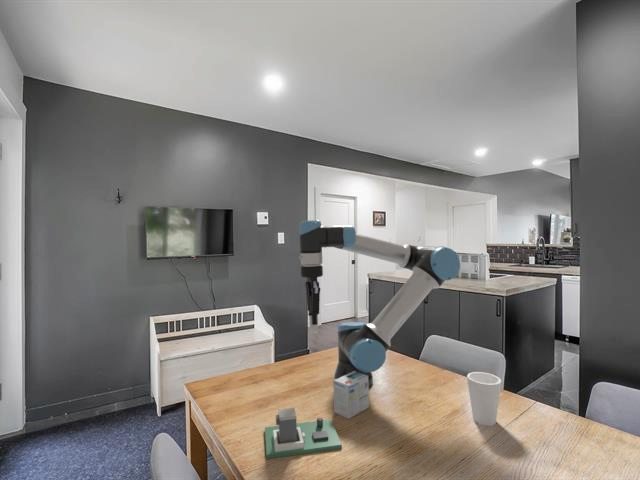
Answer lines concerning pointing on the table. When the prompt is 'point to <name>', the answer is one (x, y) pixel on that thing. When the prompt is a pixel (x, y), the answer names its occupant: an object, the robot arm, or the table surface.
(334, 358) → the table surface
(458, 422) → the table surface
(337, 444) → the board
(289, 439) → the block
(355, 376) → the light bulb box
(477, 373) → the foam cup
